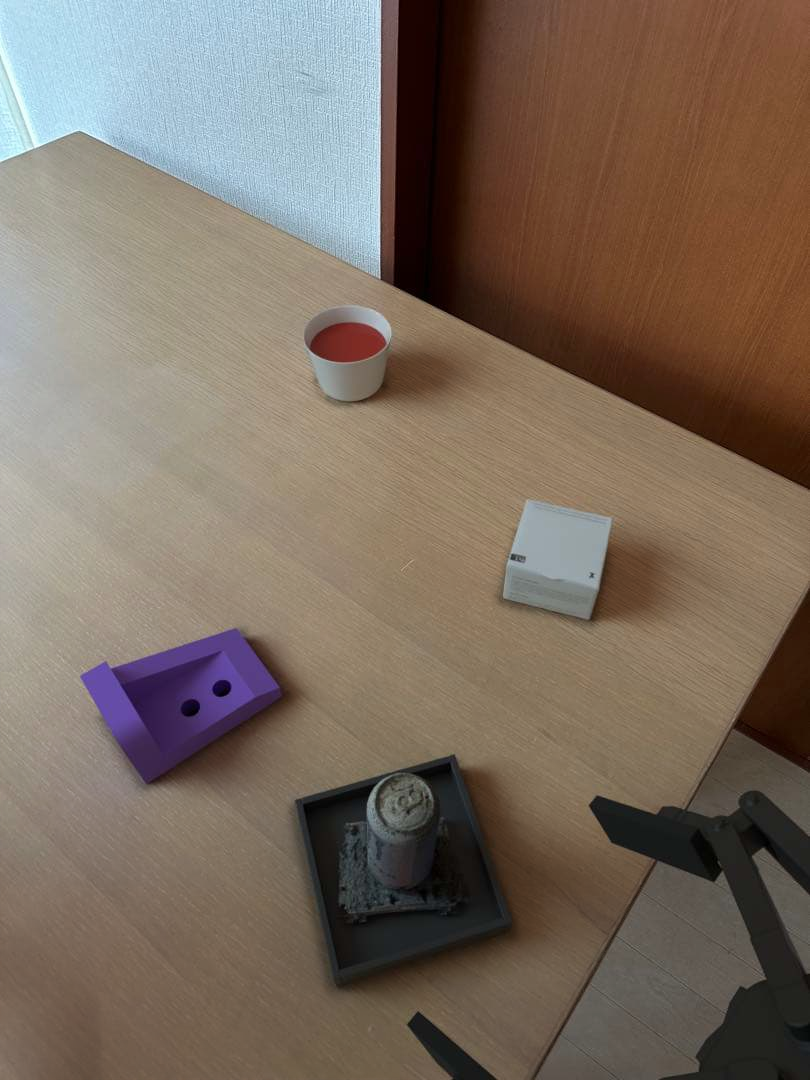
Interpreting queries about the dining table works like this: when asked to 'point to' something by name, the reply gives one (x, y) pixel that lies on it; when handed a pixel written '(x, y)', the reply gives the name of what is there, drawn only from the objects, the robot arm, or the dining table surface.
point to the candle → (348, 350)
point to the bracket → (180, 699)
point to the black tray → (397, 933)
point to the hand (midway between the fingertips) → (521, 919)
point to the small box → (557, 559)
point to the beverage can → (400, 854)
